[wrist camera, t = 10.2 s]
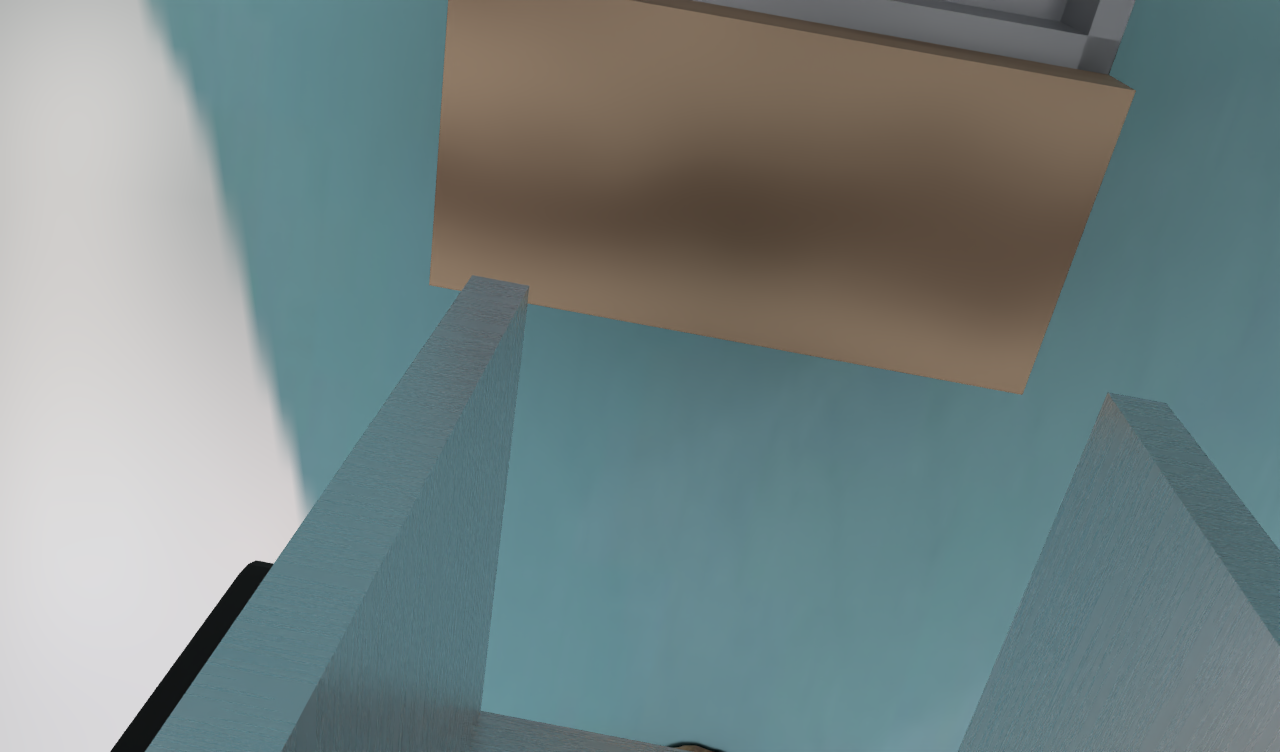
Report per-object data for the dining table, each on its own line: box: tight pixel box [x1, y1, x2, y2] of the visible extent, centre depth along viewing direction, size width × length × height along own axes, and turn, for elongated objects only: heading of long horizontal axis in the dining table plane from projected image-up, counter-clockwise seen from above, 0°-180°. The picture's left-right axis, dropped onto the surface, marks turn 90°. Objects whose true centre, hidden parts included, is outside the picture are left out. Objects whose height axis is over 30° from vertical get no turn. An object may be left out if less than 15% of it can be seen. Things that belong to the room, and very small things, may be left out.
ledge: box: [429, 0, 1136, 395], centre depth 28 cm, size 8×16×5 cm, turn 81°
